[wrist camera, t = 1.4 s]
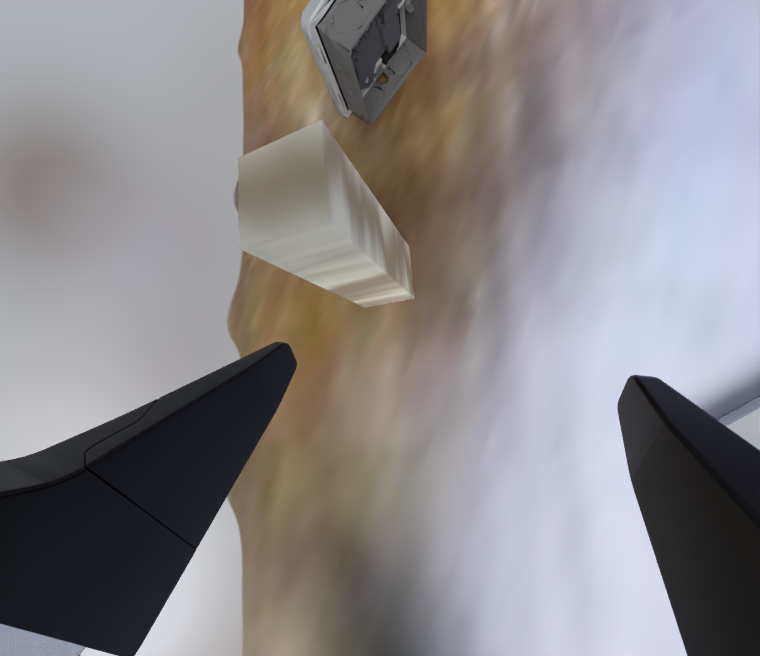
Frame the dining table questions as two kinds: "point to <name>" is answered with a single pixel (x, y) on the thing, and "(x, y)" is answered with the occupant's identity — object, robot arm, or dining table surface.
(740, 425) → the socket plate
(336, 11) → the electrical switch
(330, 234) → the birch peg
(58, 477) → the robot arm
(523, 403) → the dining table surface
